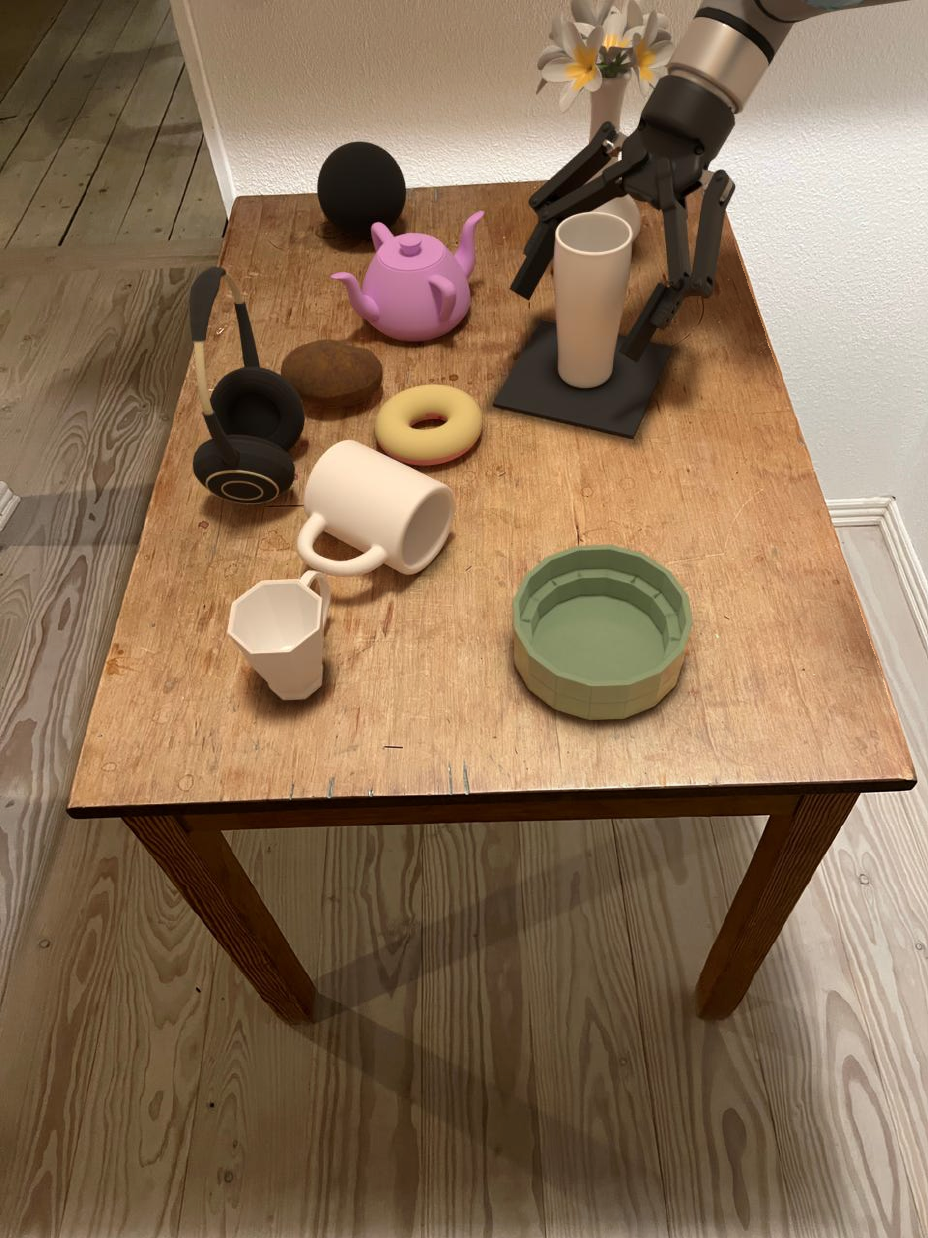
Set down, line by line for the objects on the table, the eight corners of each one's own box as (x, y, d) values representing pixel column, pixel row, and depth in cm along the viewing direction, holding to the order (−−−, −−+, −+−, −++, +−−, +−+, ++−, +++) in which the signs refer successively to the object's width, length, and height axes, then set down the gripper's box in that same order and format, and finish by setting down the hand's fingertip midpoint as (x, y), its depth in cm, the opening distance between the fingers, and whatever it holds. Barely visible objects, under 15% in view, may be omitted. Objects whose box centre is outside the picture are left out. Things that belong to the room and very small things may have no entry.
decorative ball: (321, 215, 113) (306, 131, 105) (403, 203, 114) (394, 119, 106) (329, 261, 107) (314, 175, 99) (415, 248, 108) (407, 162, 100)
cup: (234, 700, 72) (206, 639, 66) (295, 603, 78) (274, 537, 71) (316, 727, 70) (295, 667, 64) (372, 626, 76) (358, 560, 69)
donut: (488, 473, 89) (464, 399, 93) (497, 440, 85) (471, 365, 89) (384, 484, 86) (364, 408, 90) (388, 451, 82) (367, 373, 87)
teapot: (487, 284, 103) (484, 208, 96) (453, 364, 95) (447, 286, 88) (384, 272, 105) (374, 196, 98) (342, 348, 97) (328, 272, 90)
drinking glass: (541, 388, 92) (544, 247, 80) (561, 346, 95) (567, 205, 83) (609, 401, 90) (622, 259, 78) (626, 358, 94) (642, 216, 82)
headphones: (200, 535, 83) (123, 345, 67) (229, 422, 91) (167, 230, 76) (297, 534, 82) (243, 342, 66) (316, 420, 91) (273, 226, 75)
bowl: (700, 610, 75) (710, 570, 71) (656, 745, 68) (665, 708, 64) (545, 568, 78) (546, 527, 75) (489, 691, 71) (487, 654, 67)
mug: (370, 488, 85) (357, 420, 79) (459, 533, 81) (454, 466, 75) (280, 573, 80) (259, 508, 73) (371, 626, 76) (358, 562, 69)
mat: (672, 349, 95) (672, 345, 95) (633, 438, 87) (633, 435, 87) (540, 322, 99) (540, 319, 98) (492, 406, 91) (492, 403, 91)
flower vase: (654, 205, 111) (683, -41, 91) (648, 298, 100) (680, 41, 80) (544, 201, 113) (549, -42, 93) (526, 292, 102) (528, 39, 82)
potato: (385, 417, 91) (378, 364, 86) (284, 425, 91) (270, 372, 86) (384, 373, 95) (377, 320, 90) (287, 381, 95) (274, 328, 90)
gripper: (837, 164, 77) (693, 395, 84) (609, 74, 89) (498, 283, 95) (815, 121, 71) (661, 375, 77) (573, 31, 83) (456, 257, 89)
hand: (571, 325), depth 86 cm, fingers open, 13 cm apart
